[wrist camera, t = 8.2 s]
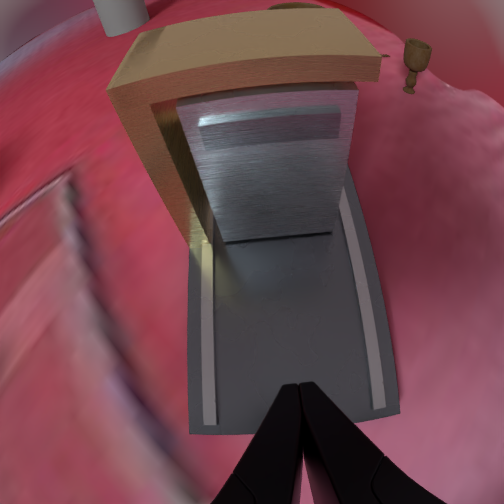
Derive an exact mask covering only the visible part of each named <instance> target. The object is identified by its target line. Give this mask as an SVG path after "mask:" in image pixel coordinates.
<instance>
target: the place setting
mask: <svg viewBox="0 0 504 504" xmlns="http://www.w3.org/2000/svg"><path fill="white" fill-rule="evenodd" d="M296 8H324V7H322V6H319V5H315V4H310V3H299V2H293V3H282V4H277V5H274V6H271V7H269V8H268V9H267V10H274V9H296ZM431 51H432V48H431V46H429V45H428V44H427V43H425V42H423V41H420V40H417V39H411V38H410V39H406V43H405V48H404V63H405V65H406V66H407V67H408V68H409V75H408V77H407V78H406V84H407V86H406V87H404V88H403V90H404V91H405V92H406V93H409V94H414V93H415V91H414V90H413V87H414V86H415V85H416V76H417V72H422V71H424V70H425V69H426V68H427V65H428V63H429V59H430V55H431ZM380 55H381V54H380ZM383 55H384V54H383ZM383 55H381V56H383ZM385 56H386V57H388V56H389V55H386V54H385V55H384V57H385ZM389 57H390V56H389Z"/></svg>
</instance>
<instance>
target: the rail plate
mask: <svg viewBox="0 0 504 504" xmlns="http://www.w3.org/2000/svg"><path fill="white" fill-rule="evenodd" d="M187 365H188V411H189V434H202V435H240V434H255V433H256V432H257V430H258V428H259V426H260V425H261V423H262V421H263V419H264V418H265V416H266V414H267V412H268V410H269V408H270V407H271V405H272V403H273V401H274V399H275V397H276V395H277V394H278V392H279V390H280V388H281V386H282V385H283V384H291V383H297V384H298V385H299V383H301V382H310V381H313V382H315V383H316V384H317V385H318V386H319V387H320V388H321V390H322V391H323V392H324V393H325V394H326V395H327V396H328V397H329V398H330V399H331V400H332V401H333V402H334V403H335V404H336V405H337V406H338V407H339V408H340V409H341V411H342V412H343V413H344V414H345V415H346V416H347V417H348V418H349V419H350V420H351V421H352V422H353V423H358V422H364V421H369V420H374V419H379V418H383V417H388V416H392V415H397V414H400V405H399V395H398V386H397V378H396V370H395V363H394V356H393V350H392V343H391V337H390V331H389V325H388V320H387V315H386V309H385V304H384V299H383V294H382V289H381V285H380V280H379V276H378V271H377V267H376V263H375V258H374V254H373V250H372V246H371V242H370V238H369V235H368V231H367V227H366V223H365V220H364V216H363V213H362V209H361V206H360V202H359V199H358V195H357V192H356V189H355V186H354V182H353V179H352V176H351V173H350V170H349V167H348V164H347V168H346V173H345V178H344V184H343V189H342V194H341V199H340V204H339V209H338V213H337V218H336V223H335V227H334V231H330V232H319V233H309V234H298V235H288V236H278V237H268V238H258V239H248V240H238V241H228V242H224V241H223V238H222V235H221V233H220V230H219V227H218V225H217V222H216V219H215V216H214V214H213V211H212V208H211V205H210V237H209V244H202V247H199V248H190V251H189V277H188V324H187Z"/></svg>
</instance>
